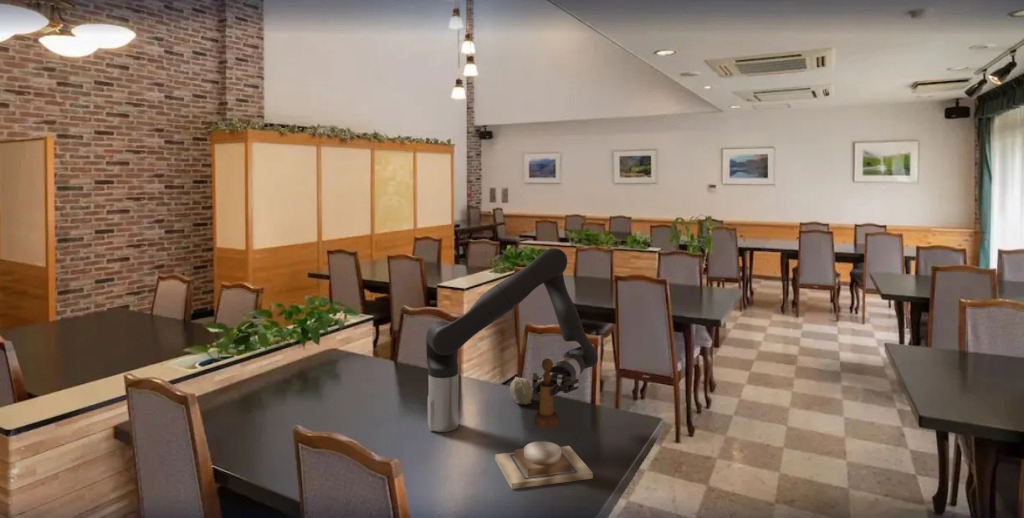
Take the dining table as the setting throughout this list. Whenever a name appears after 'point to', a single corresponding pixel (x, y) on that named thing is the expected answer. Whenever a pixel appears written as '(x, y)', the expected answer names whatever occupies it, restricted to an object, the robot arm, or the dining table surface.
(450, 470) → the dining table surface
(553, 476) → the beige flat stepped piece
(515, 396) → the garlic bulb
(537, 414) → the wooden knobbed peg
